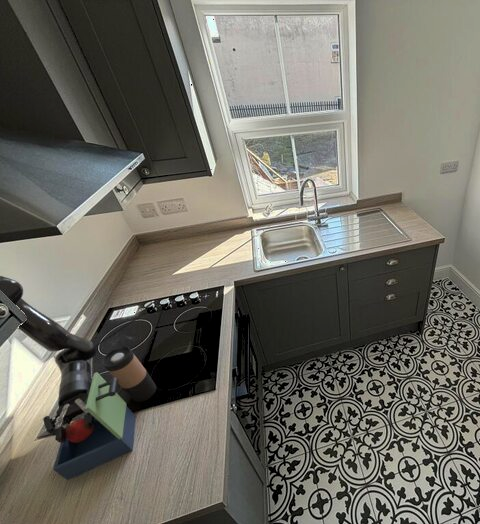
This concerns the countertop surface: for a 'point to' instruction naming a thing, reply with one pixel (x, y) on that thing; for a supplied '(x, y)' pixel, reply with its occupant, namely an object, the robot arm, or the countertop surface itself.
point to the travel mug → (129, 374)
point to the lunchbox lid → (107, 404)
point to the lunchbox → (94, 449)
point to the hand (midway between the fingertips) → (75, 433)
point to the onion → (78, 431)
